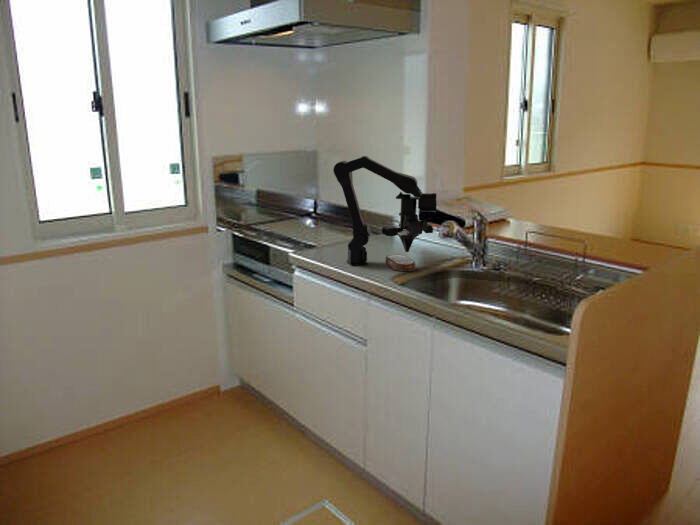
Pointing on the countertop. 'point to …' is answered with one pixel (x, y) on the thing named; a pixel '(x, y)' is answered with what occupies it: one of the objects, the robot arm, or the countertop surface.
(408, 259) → the tin
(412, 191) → the robot arm
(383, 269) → the countertop surface
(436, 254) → the countertop surface
